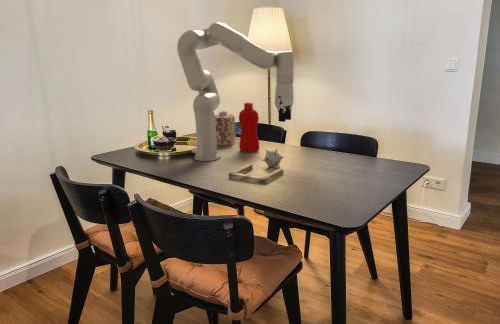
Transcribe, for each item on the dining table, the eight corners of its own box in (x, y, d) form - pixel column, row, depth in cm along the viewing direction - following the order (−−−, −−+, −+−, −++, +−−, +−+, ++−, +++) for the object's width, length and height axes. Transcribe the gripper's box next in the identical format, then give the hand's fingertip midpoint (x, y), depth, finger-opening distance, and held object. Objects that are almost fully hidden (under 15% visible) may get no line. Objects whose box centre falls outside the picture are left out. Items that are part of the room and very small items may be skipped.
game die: (276, 176, 179) (281, 162, 171) (258, 169, 179) (263, 154, 172) (282, 162, 184) (287, 148, 177) (264, 155, 185) (269, 141, 177)
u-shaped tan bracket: (228, 177, 165) (228, 173, 165) (248, 168, 178) (248, 164, 177) (264, 184, 157) (264, 179, 156) (282, 173, 169) (282, 169, 169)
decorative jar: (216, 141, 235) (214, 110, 230) (235, 141, 233) (234, 110, 229) (212, 145, 223) (210, 113, 218) (232, 145, 222) (231, 113, 217)
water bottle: (247, 154, 202) (246, 104, 196) (237, 150, 211) (236, 102, 205) (263, 152, 207) (262, 103, 200) (252, 147, 216) (251, 101, 209)
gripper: (286, 78, 187) (286, 117, 192) (268, 81, 173) (268, 122, 178) (300, 78, 183) (300, 118, 188) (283, 81, 170) (283, 124, 174)
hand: (284, 120), depth 183 cm, fingers open, 4 cm apart
